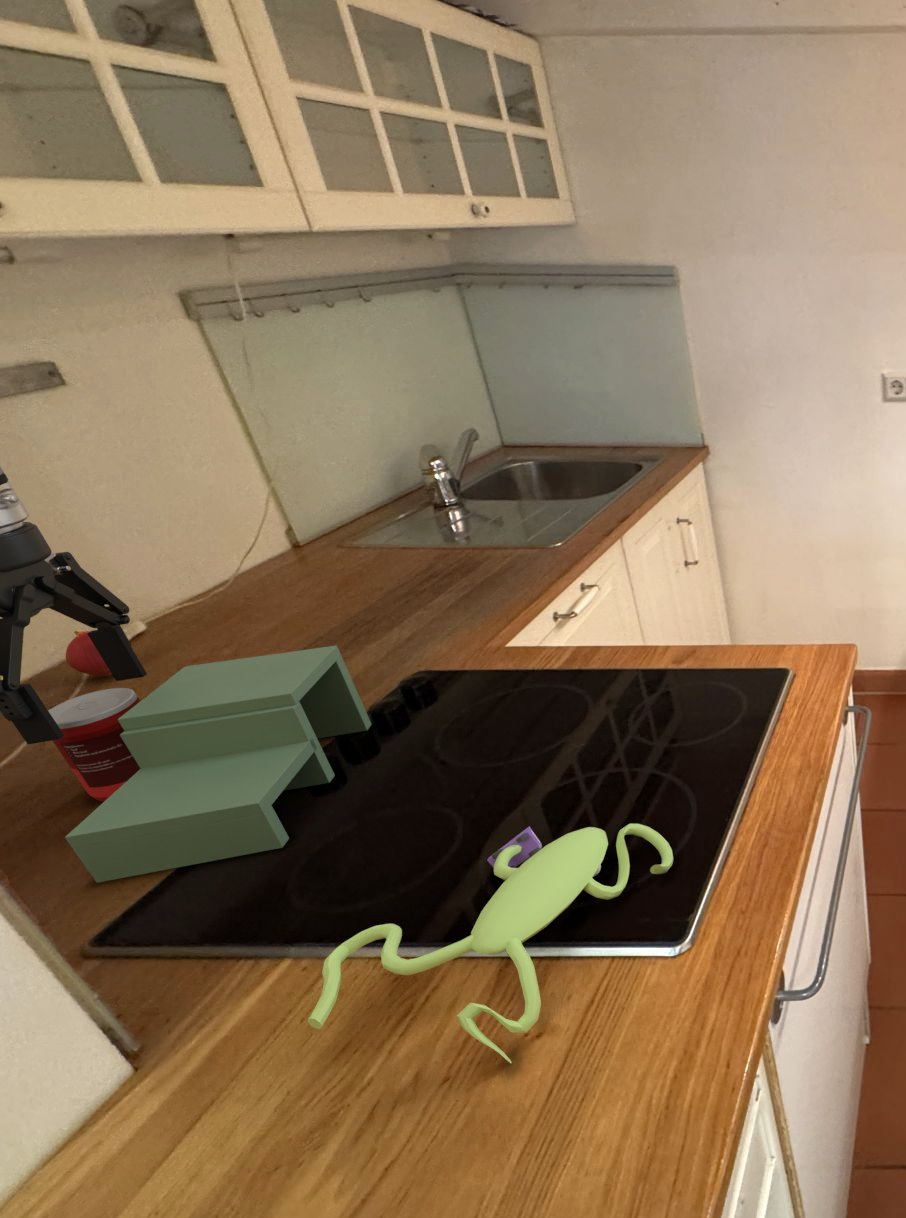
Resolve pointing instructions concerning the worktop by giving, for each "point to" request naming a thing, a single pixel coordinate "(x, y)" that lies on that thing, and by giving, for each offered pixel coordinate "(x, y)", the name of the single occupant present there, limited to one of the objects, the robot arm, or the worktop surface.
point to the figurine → (509, 915)
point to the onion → (85, 656)
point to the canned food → (97, 739)
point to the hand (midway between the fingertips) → (92, 706)
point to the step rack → (219, 761)
